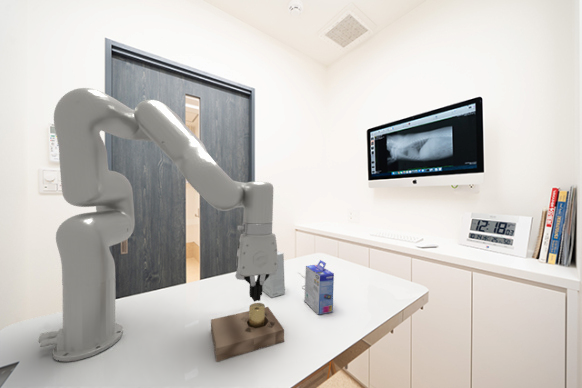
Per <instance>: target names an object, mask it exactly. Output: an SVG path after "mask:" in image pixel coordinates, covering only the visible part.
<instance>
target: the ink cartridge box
mask: <svg viewBox="0 0 582 388" xmlns="http://www.w3.org/2000/svg"><path fill="white" fill-rule="evenodd" d="M321 264H322V265H323V266H322V265H321ZM326 264H327V263H326V261H325V262H324V261H323V260H321V259H320V260H319V261H318V263H317V264H312V265H311V264H310V265H305V275H304V276H305V278H304V285H305V286H304V289H305V290H304V302H305V303H306V304H307V305H308V306H309V307H310V308H311V309H312V310H313V311H314V312H315V313H316V314H317V315H319V316H320V315H325V314H330V313H334V312H333V311H334V283H335V282H334V280H335V278H334V277H335V276H334V275H335V274H334V272H332V271H330V270H329V269H327V268H326V266H327V265H326Z"/></svg>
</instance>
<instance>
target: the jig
mask: <svg viewBox="0 0 582 388" xmlns="http://www.w3.org/2000/svg"><path fill="white" fill-rule="evenodd" d="M210 333H211V338H212V339H211V340H212V342H213V343H212V345H213V348H214V354H215V361H216V362H220V361H225V360H228V359H231V358H234V357H237V356H241V355H245V354H248V353H250V352H255V351H257V350H261V349H264V348H267V347H270V346H274V345H277V344H281V343H283V342H285V329H284V327H283V326H282V324H281V323H280V322H279V320H278V319H277V317H276V316H275V315H274V313H273V312H272V311H271V309H270V307H269V306H265V326H264V327H260V328H253V327H249V310H248V311H244V312H239V313H235V314H234V313H233V314H229V315H225V316H221V317H215V318H212V319H210Z"/></svg>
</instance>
